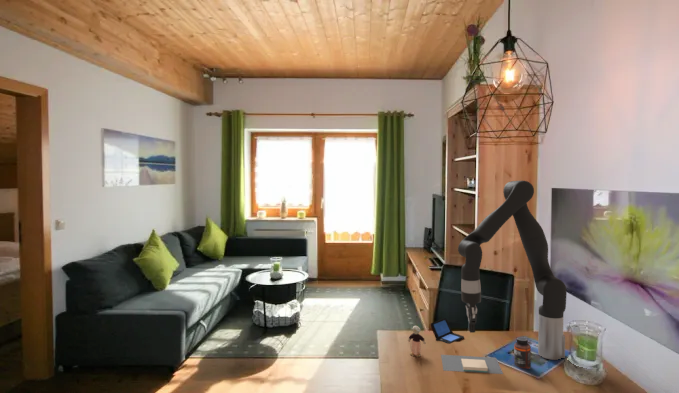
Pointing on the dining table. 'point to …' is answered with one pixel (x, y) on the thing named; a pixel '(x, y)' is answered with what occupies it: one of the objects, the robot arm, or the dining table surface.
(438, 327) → the handheld game console
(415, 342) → the grandmother figurine
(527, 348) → the supplement bottle
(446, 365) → the mat
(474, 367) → the tile
